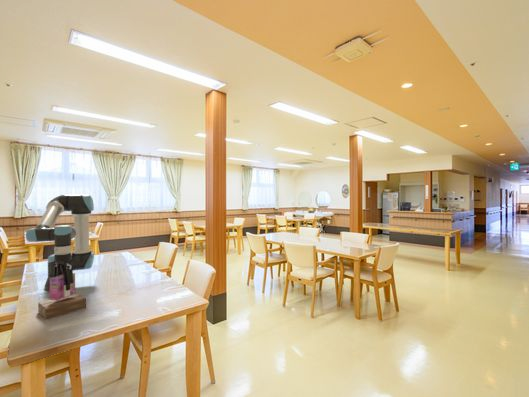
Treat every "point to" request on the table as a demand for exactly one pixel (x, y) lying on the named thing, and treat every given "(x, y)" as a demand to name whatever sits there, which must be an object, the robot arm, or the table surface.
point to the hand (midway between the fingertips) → (62, 295)
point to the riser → (61, 306)
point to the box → (60, 287)
